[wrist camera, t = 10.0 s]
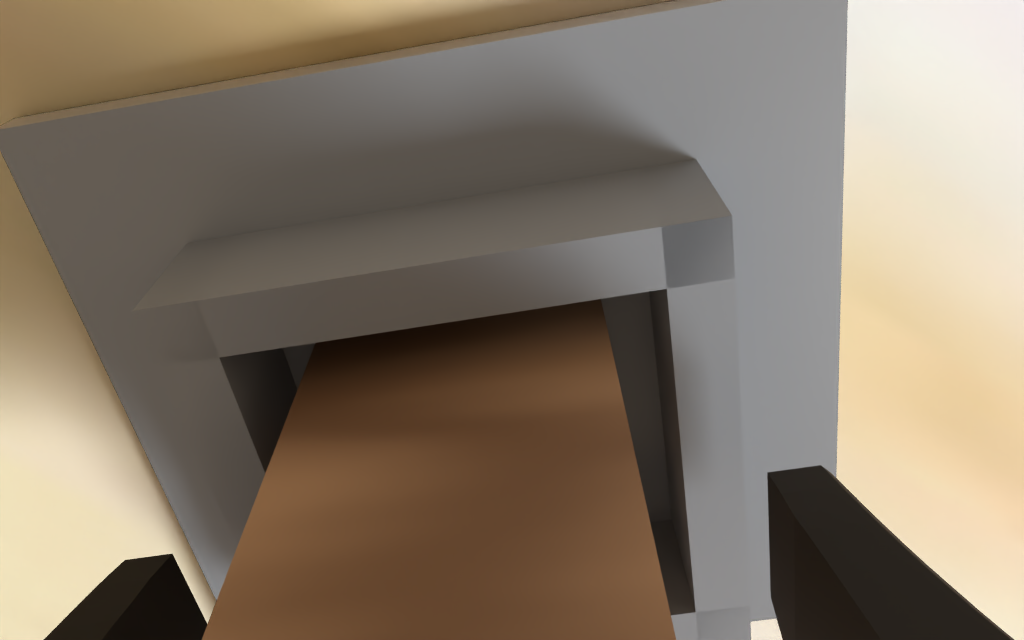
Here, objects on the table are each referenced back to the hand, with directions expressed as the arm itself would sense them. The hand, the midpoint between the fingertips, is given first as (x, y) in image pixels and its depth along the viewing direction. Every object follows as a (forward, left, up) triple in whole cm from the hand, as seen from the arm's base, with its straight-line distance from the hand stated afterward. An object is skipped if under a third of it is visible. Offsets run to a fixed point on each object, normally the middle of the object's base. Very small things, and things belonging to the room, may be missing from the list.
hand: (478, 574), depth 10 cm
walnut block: (0, 0, -3) cm, 3 cm away
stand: (0, 0, -4) cm, 4 cm away
